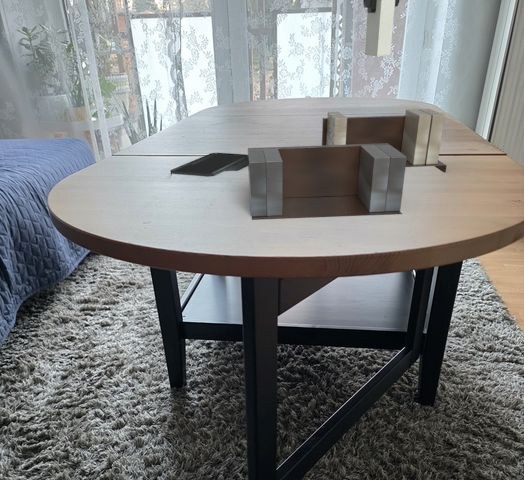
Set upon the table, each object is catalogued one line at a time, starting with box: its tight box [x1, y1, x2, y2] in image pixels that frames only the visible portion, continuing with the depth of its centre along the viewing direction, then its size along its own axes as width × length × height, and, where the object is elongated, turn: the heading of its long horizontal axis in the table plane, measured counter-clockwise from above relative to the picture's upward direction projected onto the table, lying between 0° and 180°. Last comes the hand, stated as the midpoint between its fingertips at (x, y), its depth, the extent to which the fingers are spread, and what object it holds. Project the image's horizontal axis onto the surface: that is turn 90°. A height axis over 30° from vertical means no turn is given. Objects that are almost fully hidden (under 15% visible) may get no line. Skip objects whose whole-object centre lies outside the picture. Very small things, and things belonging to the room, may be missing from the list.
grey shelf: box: [247, 143, 407, 221], centre depth 60 cm, size 17×9×7 cm, turn 93°
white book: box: [364, 0, 396, 57], centre depth 68 cm, size 2×7×10 cm, turn 4°
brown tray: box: [321, 108, 447, 173], centre depth 79 cm, size 18×9×8 cm, turn 93°
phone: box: [169, 152, 248, 178], centre depth 82 cm, size 8×1×15 cm
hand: (380, 11), depth 68 cm, fingers closed on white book, 2 cm apart
